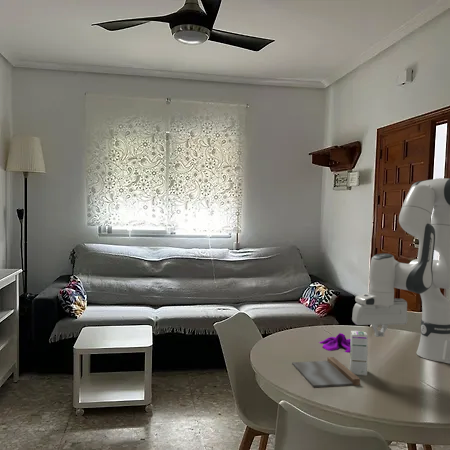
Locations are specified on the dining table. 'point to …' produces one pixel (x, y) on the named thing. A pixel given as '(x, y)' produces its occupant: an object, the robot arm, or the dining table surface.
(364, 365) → the syrup box
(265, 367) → the dining table surface
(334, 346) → the cloth
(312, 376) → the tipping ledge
